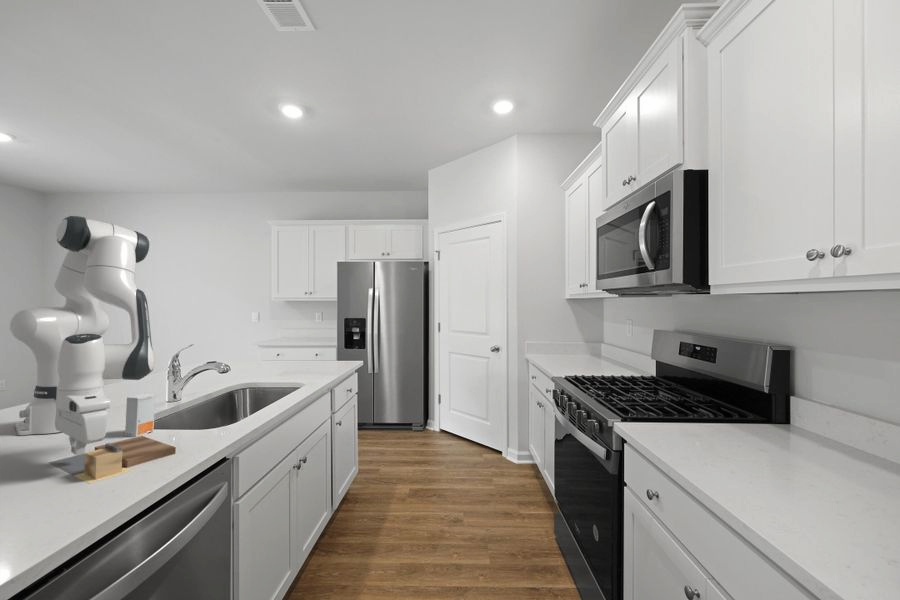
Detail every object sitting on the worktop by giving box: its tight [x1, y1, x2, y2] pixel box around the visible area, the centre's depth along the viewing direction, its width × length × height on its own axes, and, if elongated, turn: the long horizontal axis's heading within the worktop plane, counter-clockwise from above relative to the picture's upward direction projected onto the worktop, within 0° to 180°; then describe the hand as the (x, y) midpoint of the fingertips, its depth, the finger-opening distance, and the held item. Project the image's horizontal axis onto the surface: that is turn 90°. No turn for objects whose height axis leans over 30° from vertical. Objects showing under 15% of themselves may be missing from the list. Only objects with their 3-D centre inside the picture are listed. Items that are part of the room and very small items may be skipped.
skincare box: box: [124, 393, 156, 438], centre depth 124 cm, size 6×4×12 cm
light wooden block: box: [84, 442, 123, 480], centre depth 95 cm, size 6×5×6 cm
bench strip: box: [48, 453, 131, 484], centre depth 99 cm, size 23×8×1 cm, turn 62°
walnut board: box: [94, 435, 177, 469], centre depth 108 cm, size 18×11×2 cm, turn 62°
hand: (77, 453), depth 101 cm, fingers closed
